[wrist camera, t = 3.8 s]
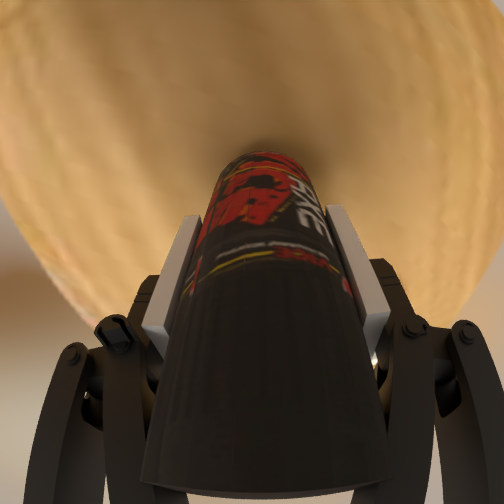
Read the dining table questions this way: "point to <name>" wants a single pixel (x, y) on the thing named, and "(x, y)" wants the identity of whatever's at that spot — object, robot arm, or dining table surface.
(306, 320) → the deodorant
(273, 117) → the dining table surface
